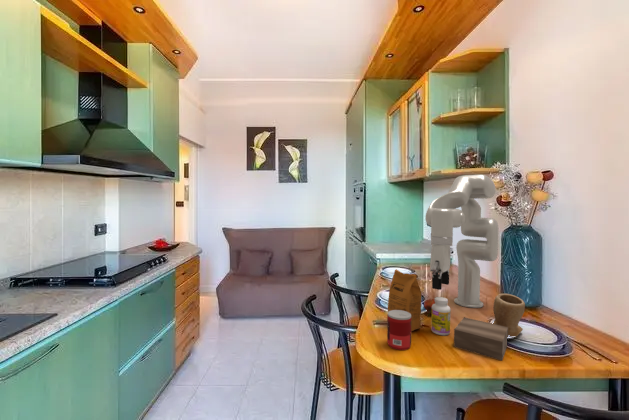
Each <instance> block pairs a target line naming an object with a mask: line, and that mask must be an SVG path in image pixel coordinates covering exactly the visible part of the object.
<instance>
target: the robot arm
mask: <svg viewBox="0 0 629 420" xmlns="http://www.w3.org/2000/svg"><path fill="white" fill-rule="evenodd" d="M495 194H496V185H495V182H494V181H493V179H491V178H490V176H488V175H486V174H465V175H459V176H457V177H456V178H455V179H454V180H453V183H452V184H451V186H450V189H449V190H448V192H447V193H444V194H442V195H441V196H439V197H437V198H435V199H434V200H433V201H431V203H430V205H429V206H428V208H427V210H426V213H425V221H426V222H425V223H426V225H428V226H430V245H431V251H430V264H429V265H430V266H429V270H430V272H431V274H432V275H431V288H432V289H434V290H439V291H441V290H442V286H443V285H447V286H448V285H450V268H451V247H453V244H454V243H453V236H454V233H453V232H454V228H455V229H458V228H460V232H461V234H462V236H466V237H469V238H470V237H472V238H484V239H486V240H481V239H469V238H466V239H460V240H458V242H457V243H456V247H455V248H456V254H457V265H458V267H457V268H458V269H457V297H456V298H454V299H453V302H454V303H455V305H456V304H457V305H458V306H461V307H464V308H471V309H480V308H483V307H484V302H482V301H481V300H480V297H481V295H480V294H481V293H480V292H481V267H480V266H479V264H478V263H477V261H483V262H495V261H496V260H497V259H498V254H499V232H500V231H499V229H500V227H499V223H498V221H497V220H496V219H495V218H492V217H482V215H481V214H482V207H481V205H480V204H479V202H478V201H477V200H476V199H478V200H479V199H483V200H484V199H491V198H493V197H494V196H495ZM459 208H461V209H459Z"/></svg>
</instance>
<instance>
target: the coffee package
mask: <svg viewBox="0 0 629 420" xmlns="http://www.w3.org/2000/svg"><path fill="white" fill-rule="evenodd" d="M418 278H419V276H418V274H415V273H404V272H402V271H400V270H398V269H395V270H394V272H393V276H392V279H391V283H390V287H389V289H388V290H389V291H388V298H387V299H388V300H387V313H388V312H389V311H391V310H402V311H406V312H409V313H410V314H411V332H413V331H415V330H419V329H420V328H421V327H422V325H421V324H422V323H421V321H422V317H421V316H422V315H421V314H422V310H421V309H422V290H421V288H420V284H419V282H418Z"/></svg>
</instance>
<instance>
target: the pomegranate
mask: <svg viewBox="0 0 629 420" xmlns="http://www.w3.org/2000/svg"><path fill="white" fill-rule="evenodd" d="M434 300H435V298H428V299H426V300H424V302H423V308H424V309H425V311H426V310H427V311H426V312H427V317H429V316H430V315H432V305H433V304H435V301H434Z"/></svg>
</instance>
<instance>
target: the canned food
mask: <svg viewBox="0 0 629 420" xmlns="http://www.w3.org/2000/svg"><path fill="white" fill-rule="evenodd" d="M386 319H387V321H386V322H387V323H386V324H387V327H386V330H387V331H386V335H387V341H386V342H387V344H388V347H390V348H391V349H393V350H398V351H407V350H409V349H410V348H411V346H412V331H411V314H410V313H409V312H406V311H402V310H391V311H389V312H388V311H387V318H386Z"/></svg>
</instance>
